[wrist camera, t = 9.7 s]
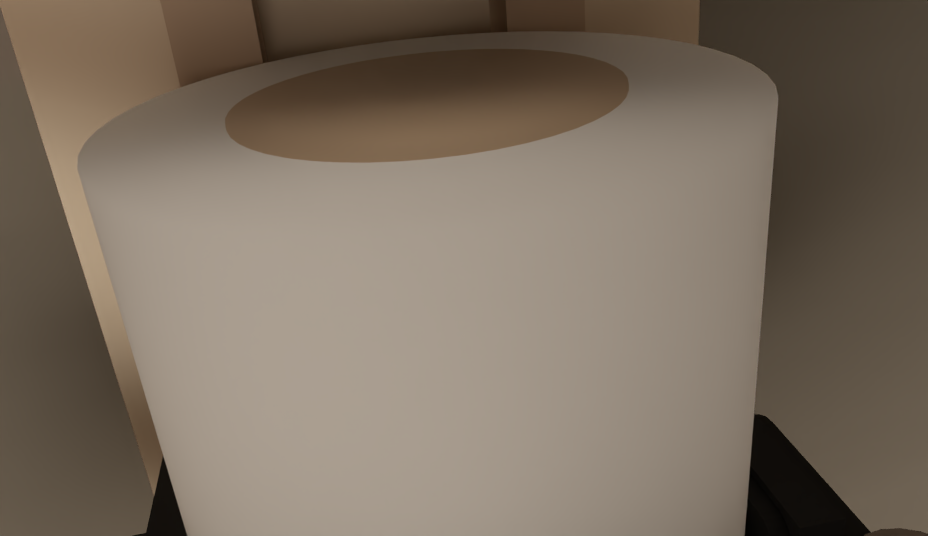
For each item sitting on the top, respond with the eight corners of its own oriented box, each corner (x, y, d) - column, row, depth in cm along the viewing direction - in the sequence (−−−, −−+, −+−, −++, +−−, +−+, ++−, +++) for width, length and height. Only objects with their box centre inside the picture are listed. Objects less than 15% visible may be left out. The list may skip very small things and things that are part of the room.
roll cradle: (-48, -283, 10) (-588, -549, 4) (661, -330, 11) (1123, -591, 5) (265, 777, 19) (255, 1226, 12) (649, 687, 20) (814, 1054, 14)
